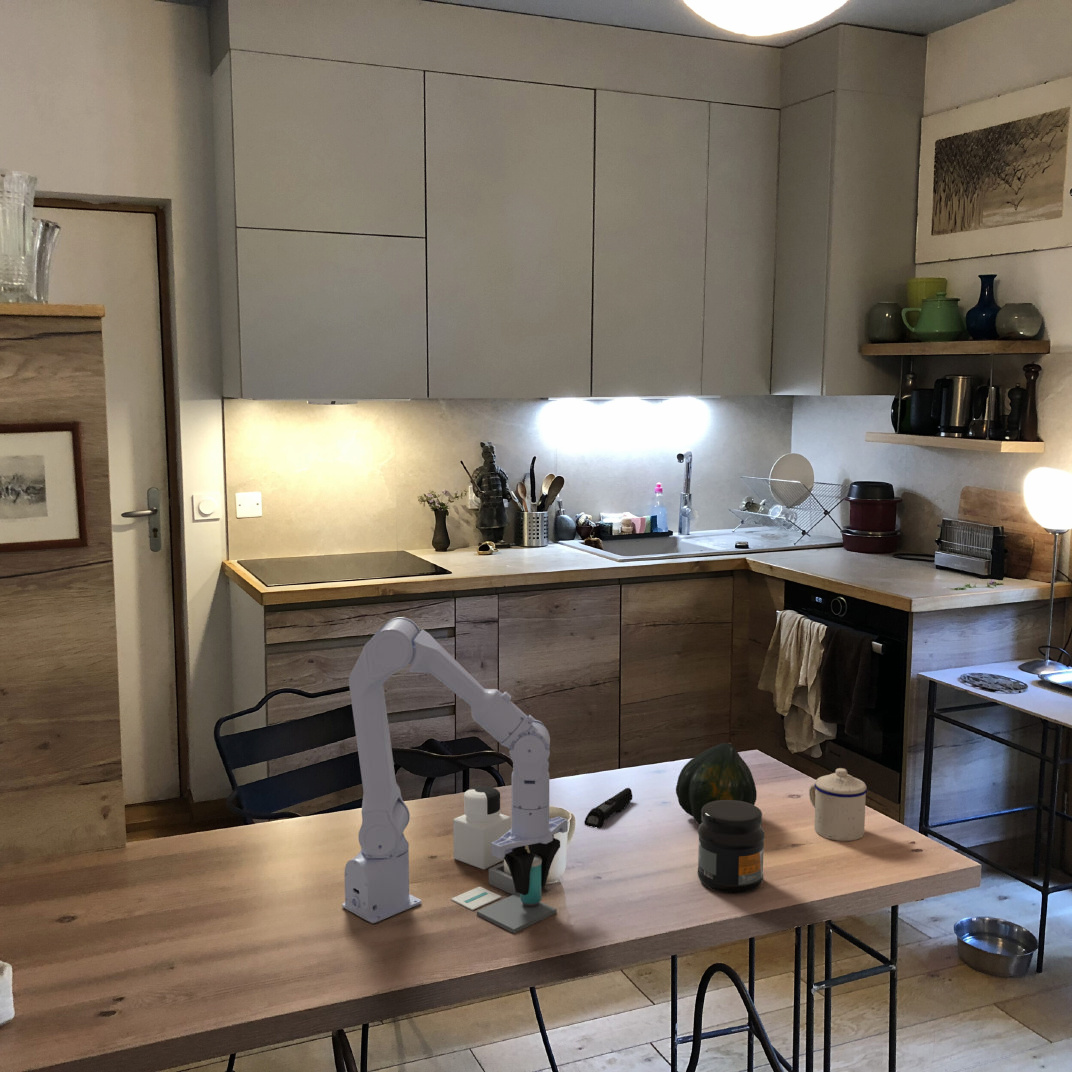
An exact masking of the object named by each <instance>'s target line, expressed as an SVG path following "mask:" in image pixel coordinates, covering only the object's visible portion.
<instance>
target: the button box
mask: <svg viewBox="0 0 1072 1072" xmlns="http://www.w3.org/2000/svg"><path fill="white" fill-rule="evenodd" d="M488 884H489V885H491V886H493V887H495V888H498V889H499V890H501V891H503V892H506V893H508V894H511V896H512V895H514V894H516V893H518V892H516V890H515V886H514V882H513V879H512V876H511V875H509V874H506V873H504V862H502V863H498V864H497V865H493V867H492V866H491V867H489V868H488Z"/></svg>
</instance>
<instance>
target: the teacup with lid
mask: <svg viewBox="0 0 1072 1072" xmlns="http://www.w3.org/2000/svg"><path fill="white" fill-rule="evenodd" d="M834 771H835V772H833V773H831V774H826V775H823V776H820V777H818V778H817V779H815V782H814V783H813V784H811V785H810V786H809V790H808V796H809V800H810V802H811V805H812V807H813V808H814V823H813V825H814V826H813V827H814V828H813V829H814V831H815V832H816V833H817V834H818V835H820V836H821V837H823V838H825V839H829V840H834V841H839V842H849V841H850V842H851V841H857V840H859V839H862V837H863V836H864V834H865V823H866V822H865V819H866V815H865V814H866V797H867V795H866V793H867V792H868V787H867V785H866V783H865V782H864V781H863V780H861V779H859V778H857V777H854V776H853V775H850V774H848V770H847V769H846V768H844V767H843V768H842V767H839V768H836V769H835V770H834Z"/></svg>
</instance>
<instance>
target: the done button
mask: <svg viewBox="0 0 1072 1072" xmlns="http://www.w3.org/2000/svg"><path fill="white" fill-rule="evenodd" d="M503 863H504V873H506V874H509V875H511V872H510V870H509V867H508V865H507V863H506V861H505V859H504V860H503ZM511 876H512V875H511Z"/></svg>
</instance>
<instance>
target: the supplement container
mask: <svg viewBox="0 0 1072 1072" xmlns="http://www.w3.org/2000/svg"><path fill="white" fill-rule="evenodd" d="M762 825H763V812H762V809H760V808H759V807H758V806H756V805H752V804H750V803H747V802H743V801H737V800H717V801H712V802H709V803H707V804H705V805H704V806H703V808H702V823H701V824H700V825H699V826H698V829H697V834H698V852H697V853H698V855H697V856H698V857H697V859H698V861H697V876H698V879H699V881H700V882H701V883H702V884H703V885H704V886H705V887H707V888H709V889H711V890H713V891H715V892H720V893H723V894H730V895H731V894H734V895H735V894H737V895H738V893H739V894H747V893H750V892H752V891H755V890H756V889H758V888H759V887H760V886H761V885H762V884H763V880H764V851H765V848H764V846H765V843H764V842H765V838H766V833H765V830H764V828H763V827H762Z"/></svg>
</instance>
